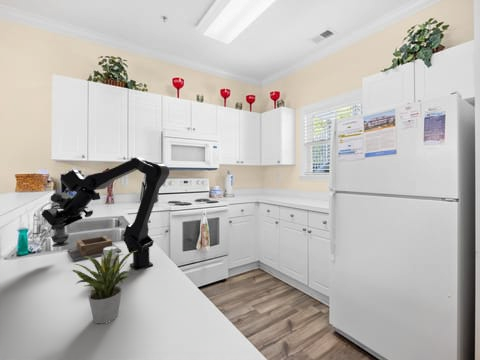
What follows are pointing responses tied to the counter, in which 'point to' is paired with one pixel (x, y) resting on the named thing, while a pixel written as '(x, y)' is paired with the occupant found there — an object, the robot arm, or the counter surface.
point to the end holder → (91, 248)
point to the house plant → (104, 288)
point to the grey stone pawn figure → (60, 237)
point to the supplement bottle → (114, 253)
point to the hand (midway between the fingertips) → (56, 228)
